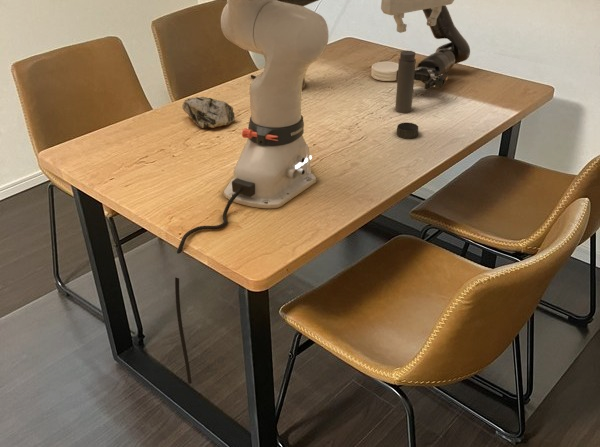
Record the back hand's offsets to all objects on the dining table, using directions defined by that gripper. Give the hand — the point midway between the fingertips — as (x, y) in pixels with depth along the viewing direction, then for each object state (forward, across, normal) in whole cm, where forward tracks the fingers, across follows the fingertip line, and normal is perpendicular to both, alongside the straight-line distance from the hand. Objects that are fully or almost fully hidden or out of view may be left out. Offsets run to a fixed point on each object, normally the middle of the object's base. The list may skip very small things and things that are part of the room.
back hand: (412, 84), depth 176 cm
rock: (+39, -43, +6) cm, 58 cm away
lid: (+20, +8, +4) cm, 21 cm away
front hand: (+19, +8, -21) cm, 30 cm away
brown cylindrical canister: (+5, 0, +6) cm, 8 cm away
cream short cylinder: (-18, -16, +6) cm, 25 cm away
